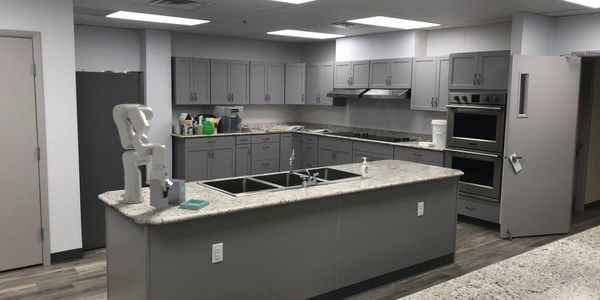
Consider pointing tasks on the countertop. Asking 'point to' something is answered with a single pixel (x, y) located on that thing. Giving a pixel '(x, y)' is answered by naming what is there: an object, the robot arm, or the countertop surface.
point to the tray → (194, 204)
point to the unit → (176, 192)
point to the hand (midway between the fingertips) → (158, 196)
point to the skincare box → (157, 194)
